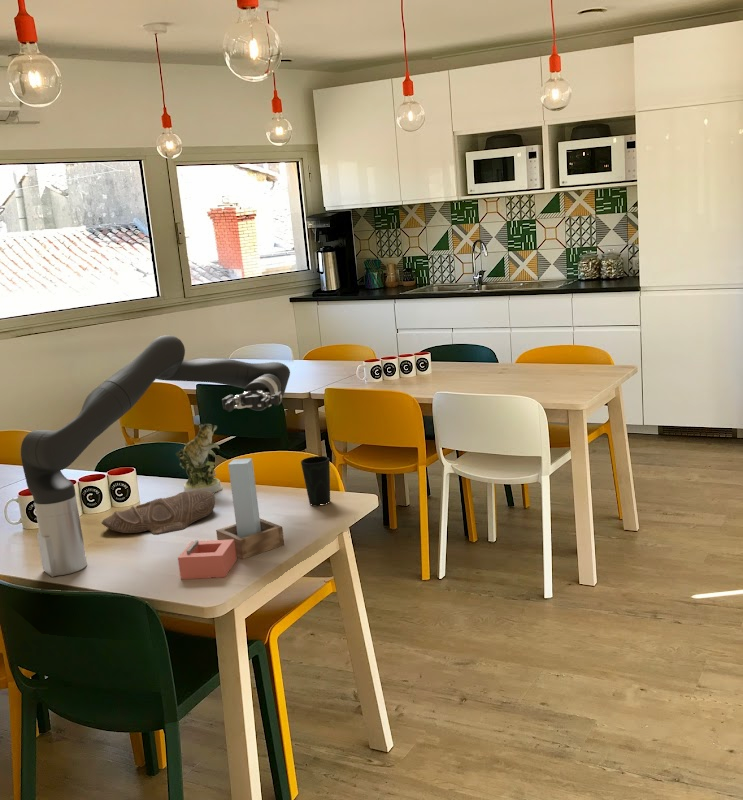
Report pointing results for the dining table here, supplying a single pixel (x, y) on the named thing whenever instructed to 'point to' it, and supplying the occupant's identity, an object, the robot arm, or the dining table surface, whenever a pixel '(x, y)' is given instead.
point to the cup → (317, 479)
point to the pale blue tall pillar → (244, 497)
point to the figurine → (200, 461)
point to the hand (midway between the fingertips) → (245, 406)
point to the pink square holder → (207, 559)
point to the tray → (254, 539)
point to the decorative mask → (163, 513)
